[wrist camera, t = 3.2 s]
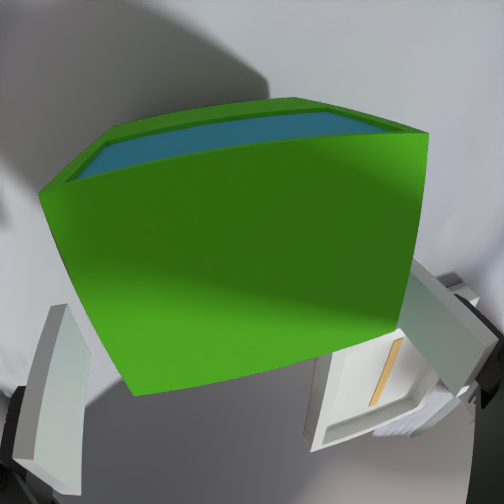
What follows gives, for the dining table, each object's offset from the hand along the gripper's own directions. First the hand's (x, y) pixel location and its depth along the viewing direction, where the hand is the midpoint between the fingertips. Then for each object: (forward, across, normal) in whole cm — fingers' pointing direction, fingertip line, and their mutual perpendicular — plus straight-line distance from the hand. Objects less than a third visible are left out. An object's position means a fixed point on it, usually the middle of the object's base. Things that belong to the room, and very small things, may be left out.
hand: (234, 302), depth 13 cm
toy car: (+6, 0, 0) cm, 6 cm away
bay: (+6, +14, -18) cm, 24 cm away
